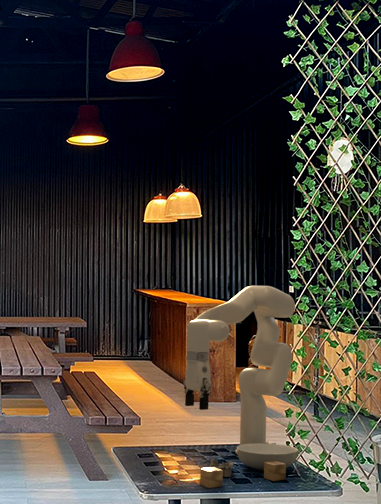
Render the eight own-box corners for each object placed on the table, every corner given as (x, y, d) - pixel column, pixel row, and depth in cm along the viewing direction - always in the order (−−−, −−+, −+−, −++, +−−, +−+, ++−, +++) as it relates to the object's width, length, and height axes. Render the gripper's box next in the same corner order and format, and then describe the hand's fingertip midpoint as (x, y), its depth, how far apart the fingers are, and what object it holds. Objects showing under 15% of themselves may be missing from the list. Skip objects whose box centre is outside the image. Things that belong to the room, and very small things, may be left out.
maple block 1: (213, 483, 264) (214, 466, 264) (222, 486, 259) (222, 470, 259) (200, 484, 261) (200, 468, 261) (208, 488, 257) (208, 471, 257)
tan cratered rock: (210, 470, 283) (210, 457, 283) (233, 471, 282) (233, 458, 283) (208, 476, 272) (208, 463, 273) (231, 477, 272) (232, 464, 272)
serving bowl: (307, 467, 292) (307, 447, 292) (282, 478, 274) (282, 456, 274) (253, 460, 302) (253, 440, 302) (225, 469, 284) (225, 448, 284)
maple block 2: (276, 476, 276) (276, 460, 276) (285, 479, 271) (285, 463, 272) (263, 477, 273) (264, 462, 273) (272, 481, 269) (273, 465, 269)
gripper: (220, 358, 283) (219, 410, 282) (195, 354, 298) (193, 404, 297) (201, 359, 279) (199, 411, 278) (176, 355, 294) (174, 404, 294)
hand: (196, 407), depth 288 cm, fingers open, 9 cm apart
